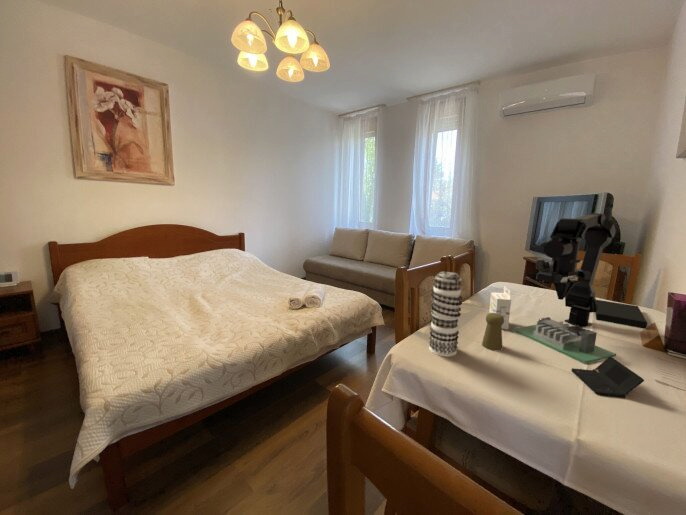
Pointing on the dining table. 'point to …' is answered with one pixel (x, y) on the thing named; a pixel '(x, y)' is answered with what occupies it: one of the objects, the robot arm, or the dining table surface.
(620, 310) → the external hard drive
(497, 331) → the cork
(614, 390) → the handheld gaming console
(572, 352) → the circuit board
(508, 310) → the ink cartridge box
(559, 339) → the heat sink
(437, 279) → the decorative candle
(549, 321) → the retention strap
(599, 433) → the dining table surface
